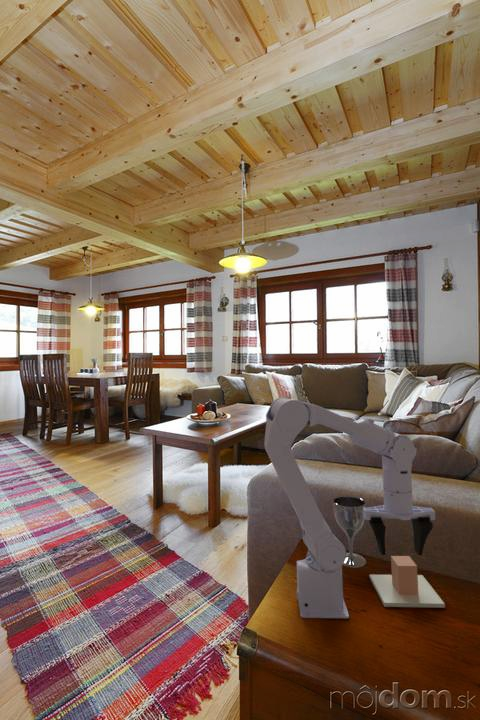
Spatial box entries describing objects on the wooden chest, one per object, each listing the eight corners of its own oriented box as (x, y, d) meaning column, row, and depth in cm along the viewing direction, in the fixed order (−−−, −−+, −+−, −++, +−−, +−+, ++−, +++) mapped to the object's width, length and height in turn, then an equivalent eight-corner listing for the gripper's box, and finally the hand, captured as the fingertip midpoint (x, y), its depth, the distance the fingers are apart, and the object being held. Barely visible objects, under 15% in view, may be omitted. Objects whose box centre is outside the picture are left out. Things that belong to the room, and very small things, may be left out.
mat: (384, 606, 71) (384, 602, 71) (369, 578, 81) (369, 574, 81) (444, 607, 70) (444, 603, 70) (422, 578, 80) (422, 575, 80)
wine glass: (373, 559, 89) (370, 500, 90) (359, 572, 83) (356, 509, 84) (344, 549, 95) (342, 493, 95) (329, 561, 89) (327, 502, 89)
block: (399, 594, 74) (397, 565, 74) (392, 583, 78) (390, 555, 78) (418, 594, 73) (417, 565, 74) (410, 583, 77) (409, 556, 78)
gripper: (369, 495, 71) (371, 562, 71) (441, 495, 70) (444, 563, 70) (359, 484, 78) (361, 545, 78) (425, 484, 78) (427, 545, 77)
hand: (400, 552), depth 74 cm, fingers open, 7 cm apart
